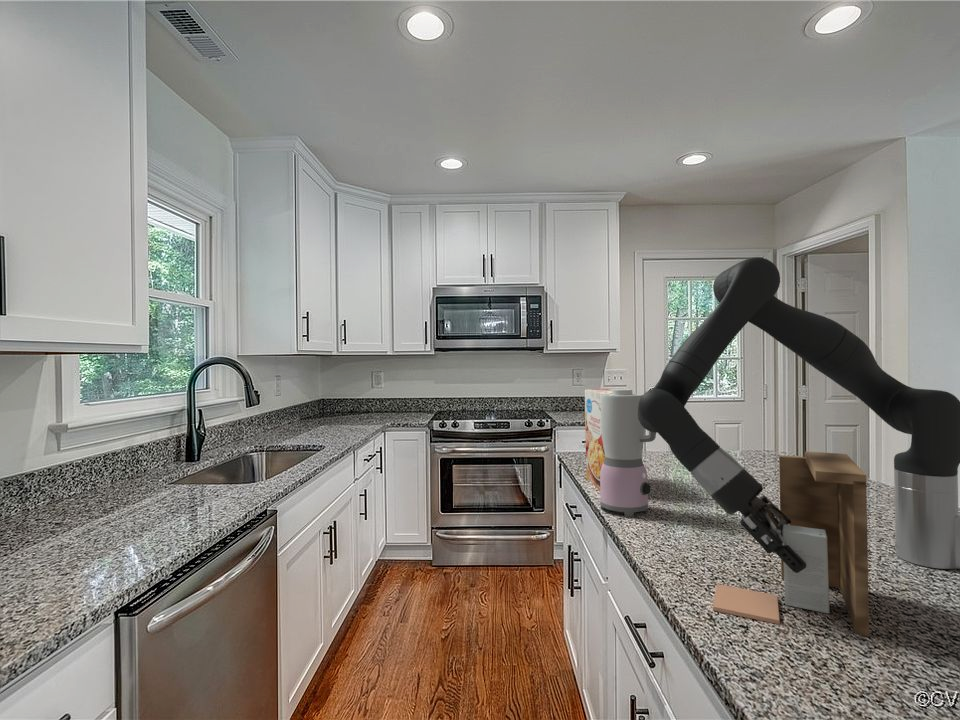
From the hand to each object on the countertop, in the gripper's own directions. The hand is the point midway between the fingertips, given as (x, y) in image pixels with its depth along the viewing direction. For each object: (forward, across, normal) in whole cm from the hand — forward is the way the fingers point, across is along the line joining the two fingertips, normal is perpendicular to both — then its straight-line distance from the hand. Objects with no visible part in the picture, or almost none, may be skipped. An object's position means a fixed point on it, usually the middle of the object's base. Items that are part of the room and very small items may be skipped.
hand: (804, 560), depth 80 cm
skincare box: (+5, 0, +5) cm, 7 cm away
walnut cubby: (+6, +1, +4) cm, 7 cm away
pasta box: (-34, +54, +45) cm, 78 cm away
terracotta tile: (0, -6, +10) cm, 12 cm away
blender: (-24, +32, +34) cm, 52 cm away
